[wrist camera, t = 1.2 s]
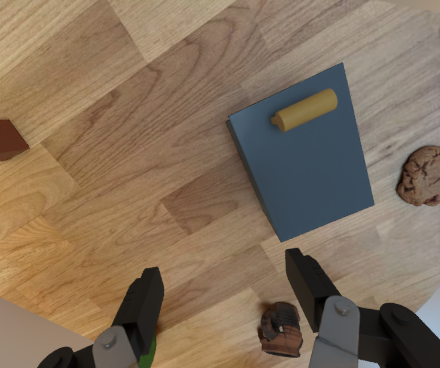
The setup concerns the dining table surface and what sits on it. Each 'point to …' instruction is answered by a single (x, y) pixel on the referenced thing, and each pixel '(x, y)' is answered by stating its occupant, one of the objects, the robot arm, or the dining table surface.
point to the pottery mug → (281, 341)
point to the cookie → (422, 177)
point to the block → (10, 141)
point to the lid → (306, 153)
